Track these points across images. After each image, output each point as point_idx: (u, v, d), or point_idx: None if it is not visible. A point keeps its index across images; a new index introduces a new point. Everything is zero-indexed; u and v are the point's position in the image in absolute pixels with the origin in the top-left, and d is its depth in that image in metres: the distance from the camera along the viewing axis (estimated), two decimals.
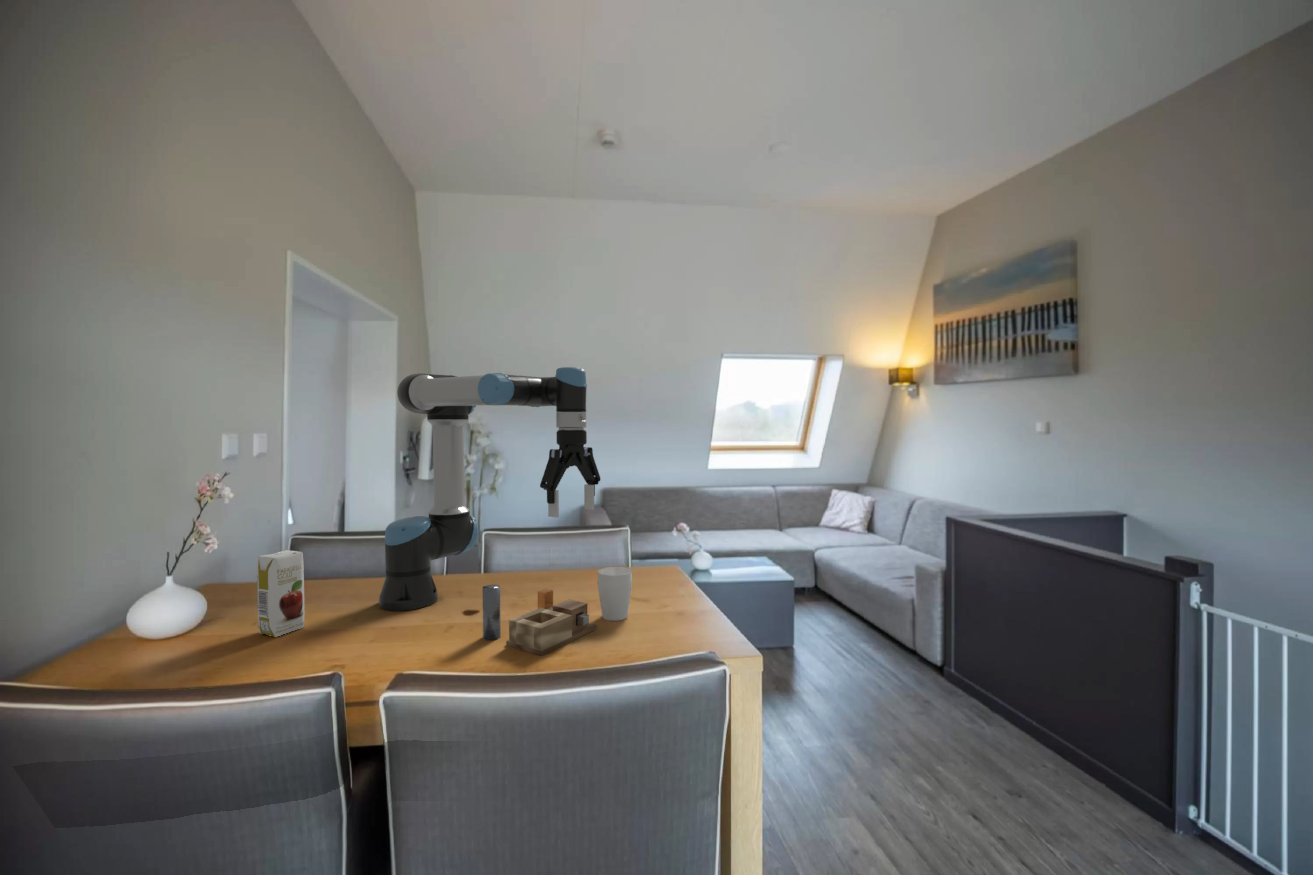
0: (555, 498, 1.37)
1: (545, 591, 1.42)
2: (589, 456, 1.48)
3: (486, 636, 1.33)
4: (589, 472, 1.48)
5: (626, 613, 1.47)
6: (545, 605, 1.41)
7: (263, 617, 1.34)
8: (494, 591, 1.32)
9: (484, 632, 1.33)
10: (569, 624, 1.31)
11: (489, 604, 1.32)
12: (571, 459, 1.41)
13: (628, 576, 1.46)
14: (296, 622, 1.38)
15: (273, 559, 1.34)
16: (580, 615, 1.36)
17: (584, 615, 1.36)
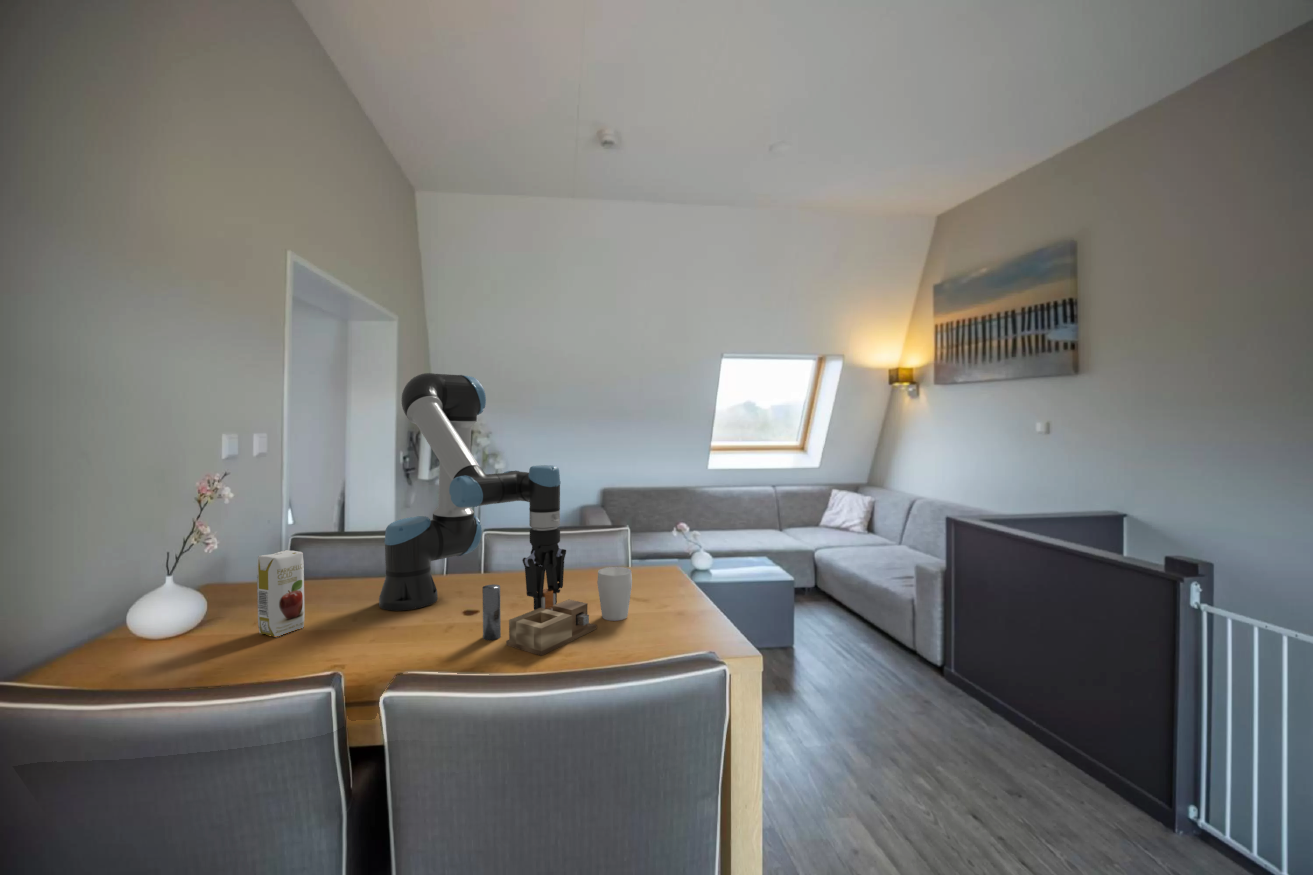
0: (542, 605, 1.40)
1: (545, 591, 1.42)
2: (560, 557, 1.46)
3: (486, 636, 1.33)
4: (555, 576, 1.44)
5: (626, 613, 1.47)
6: (545, 605, 1.41)
7: (263, 617, 1.34)
8: (494, 591, 1.32)
9: (484, 632, 1.33)
10: (569, 624, 1.31)
11: (489, 604, 1.32)
12: (546, 560, 1.40)
13: (628, 576, 1.46)
14: (296, 622, 1.38)
15: (273, 559, 1.34)
16: (580, 615, 1.36)
17: (584, 615, 1.36)
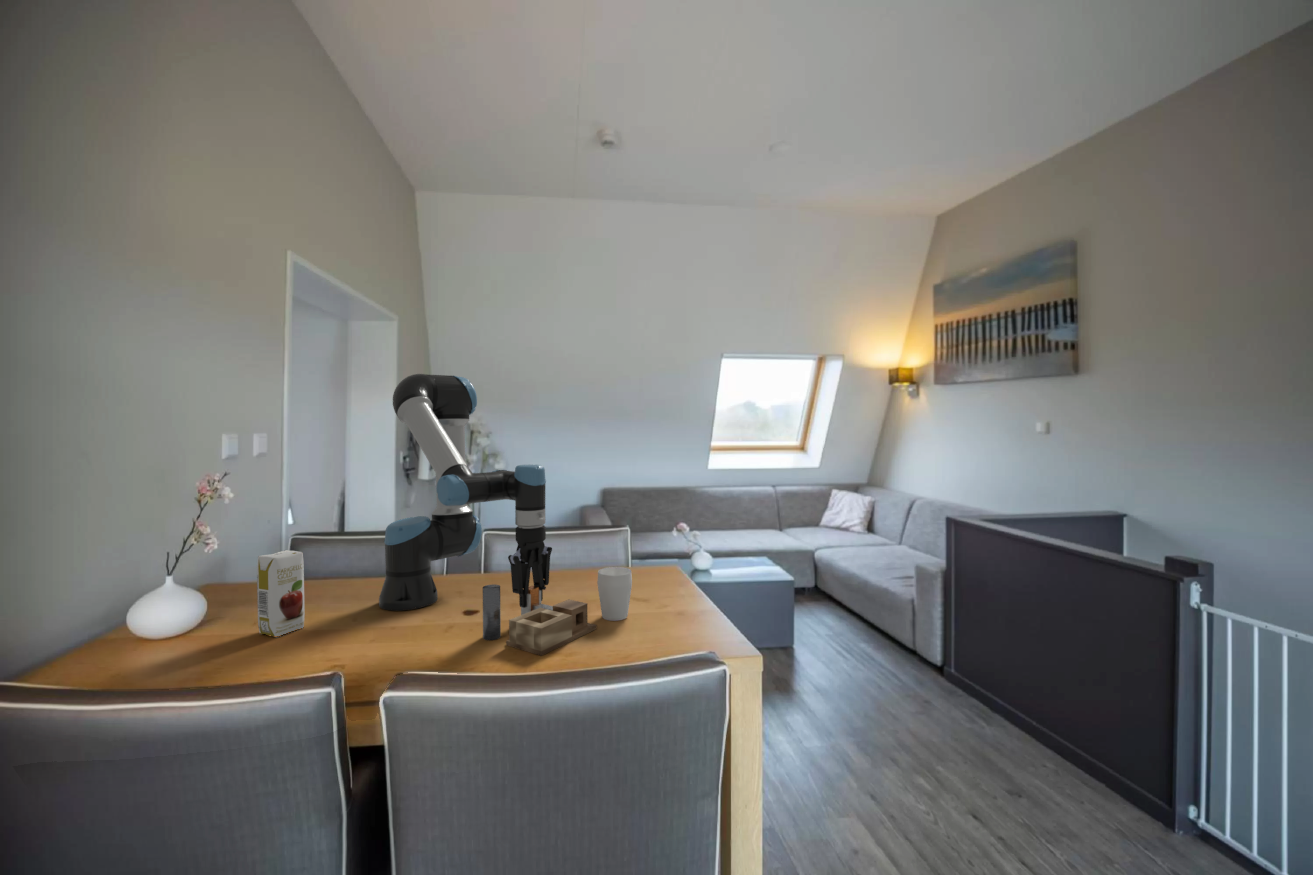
0: (527, 602, 1.43)
1: (531, 588, 1.45)
2: (546, 555, 1.48)
3: (486, 636, 1.33)
4: (540, 574, 1.46)
5: (626, 613, 1.47)
6: None
7: (263, 617, 1.34)
8: (494, 591, 1.32)
9: (484, 632, 1.33)
10: (569, 624, 1.31)
11: (489, 604, 1.32)
12: (531, 557, 1.43)
13: (628, 576, 1.46)
14: (296, 622, 1.38)
15: (273, 559, 1.34)
16: None
17: None
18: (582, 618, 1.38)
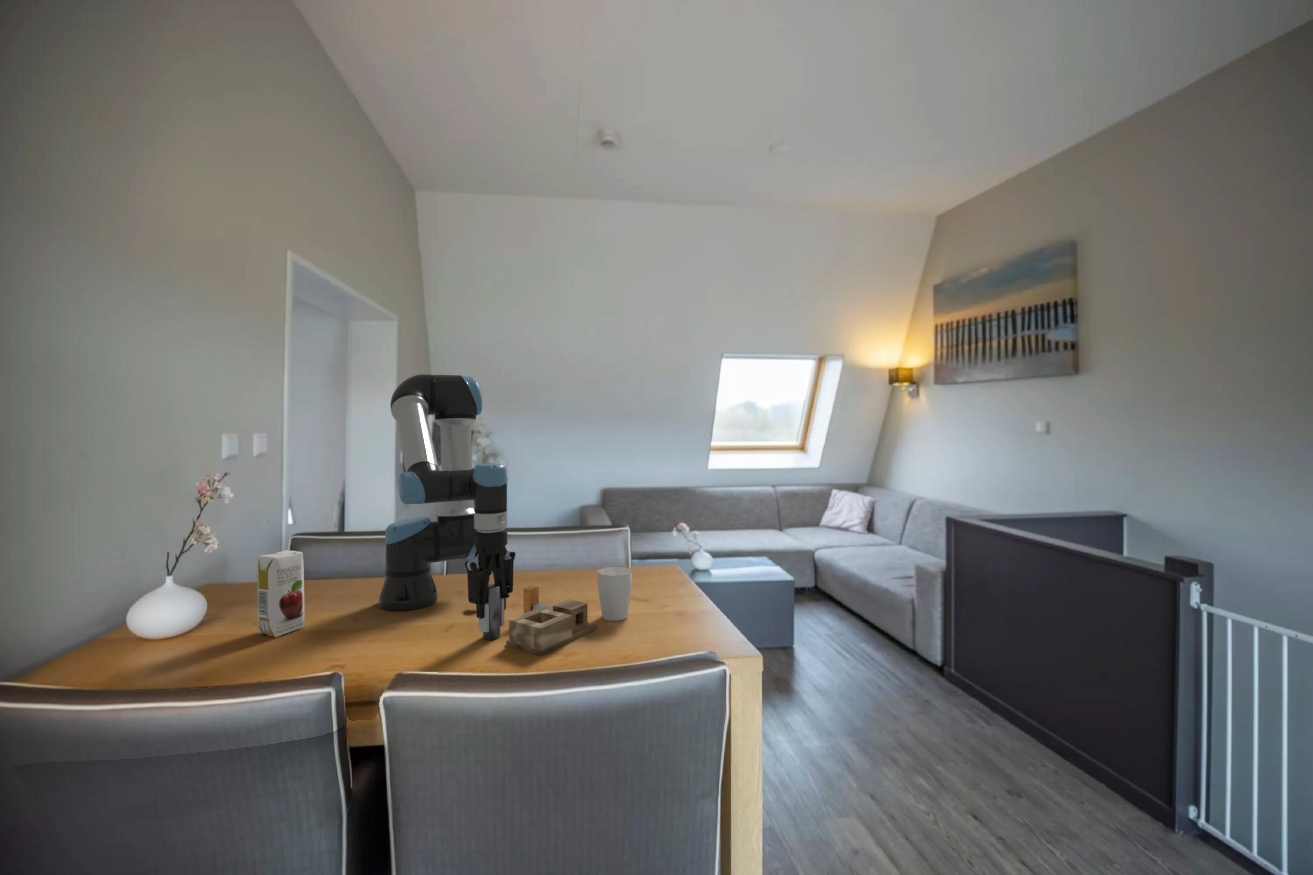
0: (485, 612, 1.31)
1: (531, 588, 1.45)
2: (509, 561, 1.38)
3: (486, 635, 1.33)
4: (503, 581, 1.36)
5: (626, 613, 1.47)
6: (530, 601, 1.43)
7: (263, 617, 1.34)
8: (494, 590, 1.33)
9: None
10: (569, 624, 1.31)
11: (489, 603, 1.32)
12: (491, 564, 1.32)
13: (628, 576, 1.46)
14: (296, 622, 1.38)
15: (273, 559, 1.34)
16: None
17: None
18: (582, 618, 1.38)
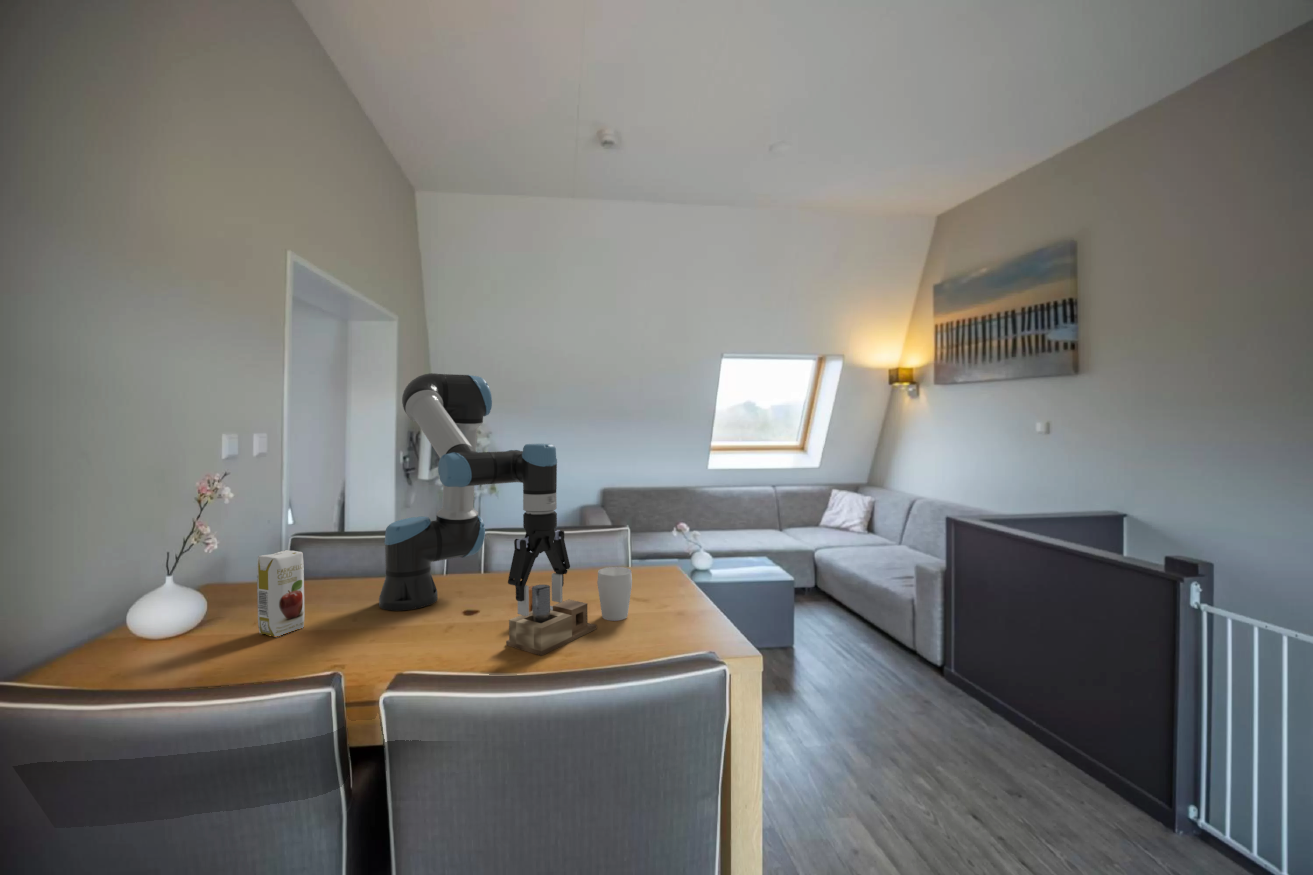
0: (525, 595, 1.25)
1: (531, 588, 1.45)
2: (560, 540, 1.34)
3: None
4: (558, 559, 1.33)
5: (626, 613, 1.47)
6: (530, 601, 1.43)
7: (263, 617, 1.34)
8: (544, 591, 1.29)
9: None
10: (569, 624, 1.31)
11: (540, 604, 1.28)
12: (539, 546, 1.27)
13: (628, 576, 1.46)
14: (296, 622, 1.38)
15: (273, 559, 1.34)
16: None
17: None
18: (582, 618, 1.38)
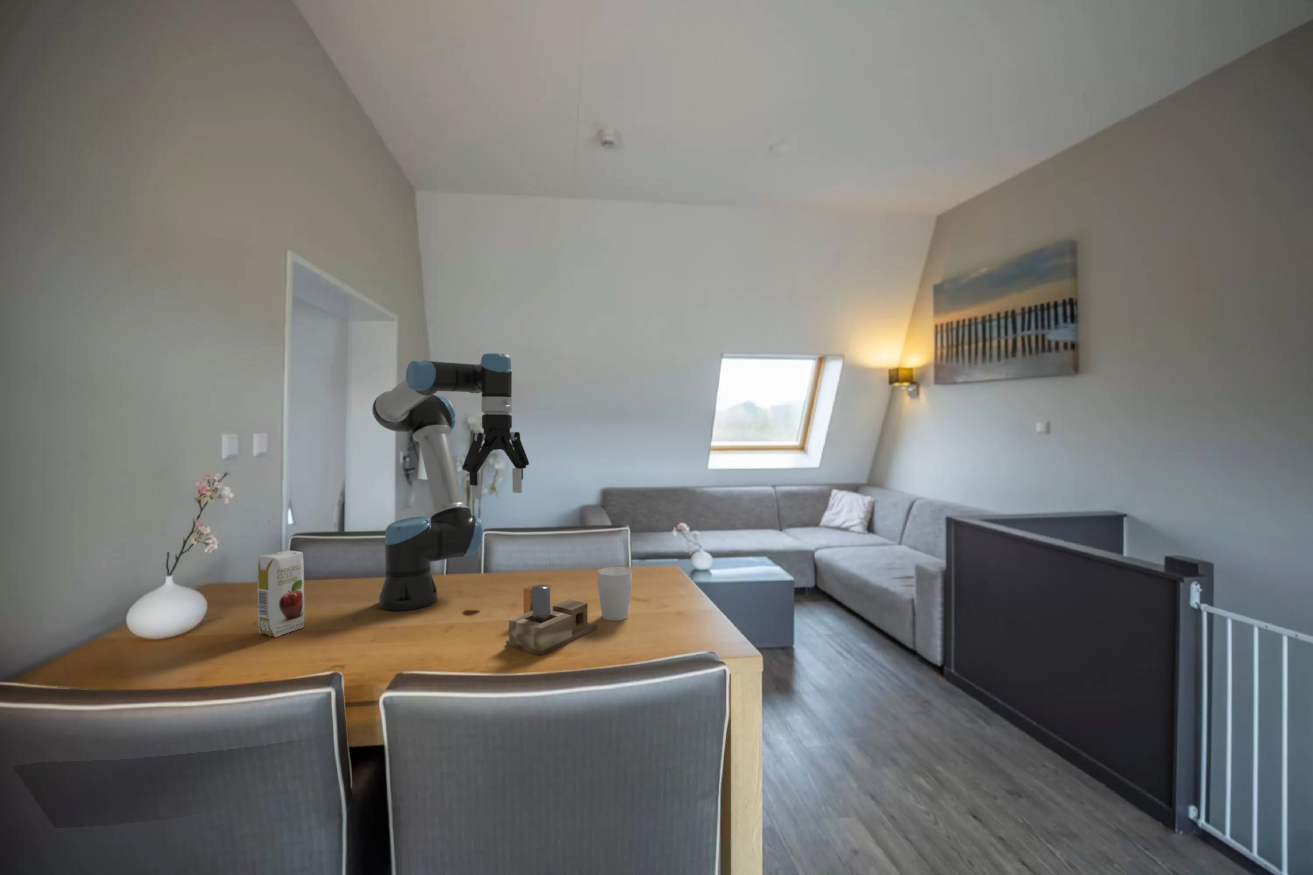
0: (477, 480, 1.41)
1: (531, 588, 1.45)
2: (516, 440, 1.52)
3: None
4: (516, 456, 1.52)
5: (626, 613, 1.47)
6: (530, 601, 1.43)
7: (263, 617, 1.34)
8: (544, 592, 1.28)
9: None
10: (569, 624, 1.31)
11: (540, 605, 1.28)
12: (495, 443, 1.45)
13: (628, 576, 1.46)
14: (296, 622, 1.38)
15: (273, 559, 1.34)
16: None
17: None
18: (582, 618, 1.38)
